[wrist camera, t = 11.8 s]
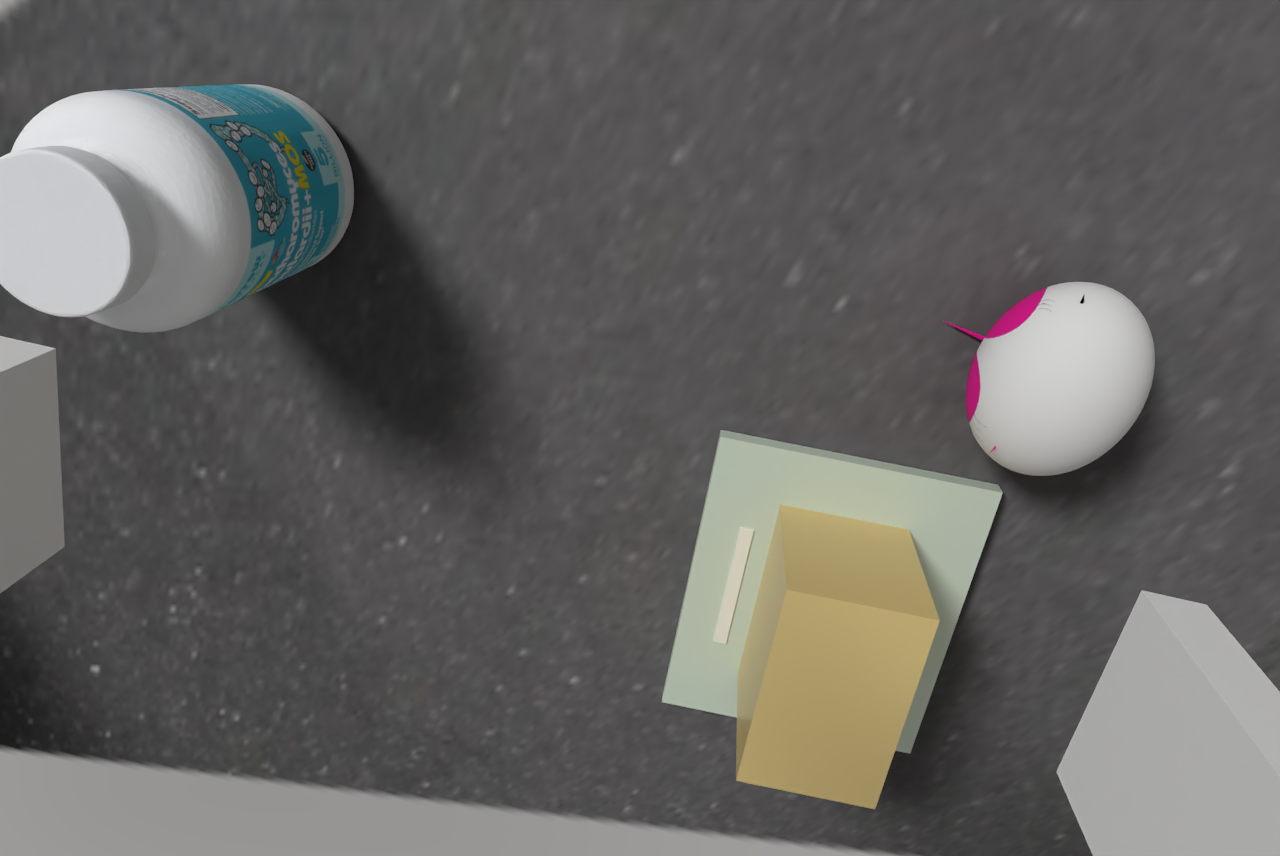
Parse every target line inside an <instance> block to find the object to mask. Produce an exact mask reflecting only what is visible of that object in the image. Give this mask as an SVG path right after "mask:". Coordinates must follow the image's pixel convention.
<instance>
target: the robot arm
mask: <svg viewBox="0 0 1280 856" xmlns="http://www.w3.org/2000/svg"><path fill="white" fill-rule="evenodd" d="M63 547H65V545H64V523H63V501H62V479H61V457H60V435H59V413H58V391H57V369H56V348H51V347H47V346H42V345H38V344H33V343H29V342H24V341H20V340H15V339H11V338H6V337H2V336H0V593H2V592H3V591H4V590H6V589H7V588H8V587H10V586H11V585H12V584H14V583H15V582H17V581H18V580H19V579H21V578H22V577H23V576H25V575H26V574H28V573H29V572H30V571H32V570H33V569H34V568H36V567H37V566H39V565H40V564H41V563H43V562H44V561H45V560H47V559H48V558H49V557H51V556H52V555H54V554H55V553H56V552H58V551H59V550H60V549H62V548H63ZM1056 772H1057V774H1058V777H1059V779H1060V781H1061V784H1062V786H1063V788H1064V790H1065V793H1066V795H1067V797H1068V800H1069V802H1070V804H1071V806H1072V809H1073V811H1074V813H1075V816H1076V818H1077V820H1078V823H1079V825H1080V827H1081V829H1082V832H1083V834H1084V836H1085V839H1086V841H1087V843H1088V846H1089V848H1090V850H1091V852H1092V855H1093V856H1280V692H1279V691H1278V689H1277V688H1276V687H1275V686H1274V685H1273V683H1272V682H1271V681H1270V680H1269V679H1268V677H1267V676H1266V675H1265V674H1264V673H1263V671H1262V670H1261V669H1260V668H1259V667H1258V666H1257V664H1256V663H1255V662H1254V661H1253V660H1252V658H1251V657H1250V656H1249V655H1248V654H1247V652H1246V651H1245V650H1244V649H1243V648H1242V646H1241V645H1240V644H1239V643H1238V642H1237V640H1236V639H1235V638H1234V637H1233V636H1232V635H1231V633H1230V632H1229V631H1228V630H1227V629H1226V627H1225V626H1224V625H1223V624H1222V623H1221V621H1220V620H1219V619H1218V618H1217V617H1216V615H1215V614H1214V613H1213V612H1212V611H1211V609H1210V608H1209V607H1208V606H1207V605H1205V604H1201V603H1196V602H1192V601H1187V600H1183V599H1178V598H1174V597H1169V596H1165V595H1160V594H1156V593H1151V592H1147V591H1141V593H1140V595H1139V597H1138V599H1137V601H1136V603H1135V606H1134V608H1133V610H1132V612H1131V614H1130V616H1129V618H1128V620H1127V623H1126V625H1125V627H1124V629H1123V631H1122V633H1121V635H1120V637H1119V640H1118V642H1117V644H1116V646H1115V648H1114V650H1113V652H1112V654H1111V657H1110V659H1109V661H1108V663H1107V665H1106V667H1105V669H1104V671H1103V674H1102V676H1101V678H1100V680H1099V682H1098V684H1097V686H1096V688H1095V691H1094V693H1093V695H1092V697H1091V699H1090V701H1089V703H1088V706H1087V708H1086V710H1085V712H1084V714H1083V716H1082V718H1081V720H1080V723H1079V725H1078V727H1077V729H1076V731H1075V733H1074V735H1073V737H1072V740H1071V742H1070V744H1069V746H1068V748H1067V750H1066V752H1065V754H1064V757H1063V759H1062V761H1061V763H1060V765H1059V767H1058V769H1057V771H1056Z"/></svg>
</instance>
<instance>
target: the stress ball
mask: <svg viewBox="0 0 1280 856" xmlns="http://www.w3.org/2000/svg"><path fill="white" fill-rule="evenodd" d="M942 321H943V320H942ZM944 322H946V321H944ZM946 323H948V322H946ZM948 324H950V325H952V326H954V327H956V328H958V329H960V330H962V331H964V332H966V333H968V334H970V335H971V336H973V337H975V338H977V339H979V340H981V341H982V343H981V344H980V346H979V348H978V350H977V352H976V354H975V357H974V359H973V362H972V364H971V368H970V371H969V375H968V380H967V387H966V411H967V417H968V421H969V424H970V427H971V430H972V432H973V434H974V437H975V439H976V440H977V442H978V444H979V445H980V446H981V448H982V449H983V450H984V451H985V453H987V454H988V455H989V456H990V457H991V458H992V459H993V460H994V461H996V462H997V463H999V464H1000V465H1001V466H1003V467H1005V468H1007V469H1009V470H1012V471H1015V472H1018V473H1021V474H1026V475H1033V476H1049V475H1057V474H1062V473H1066V472H1070V471H1073V470H1076V469H1078V468H1081V467H1083V466H1085V465H1087V464H1089V463H1091V462H1093V461H1094V460H1096V459H1097V458H1099V457H1100V456H1102V455H1103V454H1104V453H1106V452H1107V451H1109V450H1110V449H1111V448H1112V447H1113V446H1114V445H1115V444H1116V443H1118V442H1119V441H1120V440H1121V438H1122V437H1123V436H1124V435H1125V434H1126V433H1127V432H1128V430H1129V429H1130V428H1131V426H1132V425H1133V424H1134V422H1135V421H1136V419H1137V418H1138V416H1139V414H1140V412H1141V411H1142V409H1143V407H1144V404H1145V402H1146V400H1147V398H1148V395H1149V392H1150V389H1151V385H1152V380H1153V376H1154V368H1155V351H1154V343H1153V338H1152V335H1151V331H1150V329H1149V326H1148V324H1147V322H1146V320H1145V318H1144V316H1143V315H1142V314H1141V312H1140V311H1139V309H1138V308H1137V307H1136V306H1135V305H1134V304H1133V303H1132V302H1131V301H1130V300H1129V299H1128V298H1126V297H1125V296H1124V295H1123V294H1121V293H1119V292H1118V291H1116V290H1114V289H1112V288H1109V287H1107V286H1104V285H1101V284H1096V283H1090V282H1068V283H1061V284H1057V285H1053V286H1050V287H1047V288H1044V289H1042V290H1039V291H1037V292H1035V293H1033V294H1031V295H1029V296H1027V297H1026V298H1024V299H1023V300H1021V301H1020V302H1018V303H1017V304H1015V305H1014V306H1013V307H1011V308H1010V309H1009V310H1008V311H1007V312H1006V313H1005V314H1004V315H1003V316H1002V317H1001V318H1000V319H999V320H998V321H997V322H996V323H995V324H994V325H993V327H992V328H991V329H990V331H989V332H988V333H987V335H986V336H985V337H984V336H982V335H979V334H977V333H974V332H971V331H969V330H966V329H964V328H961V327H958V326H956V325H953V324H951V323H948Z"/></svg>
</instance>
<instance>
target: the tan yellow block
mask: <svg viewBox="0 0 1280 856" xmlns="http://www.w3.org/2000/svg"><path fill="white" fill-rule="evenodd" d="M939 621H940V620H939V617H938V614H937V611H936V608H935V605H934V602H933V599H932V596H931V593H930V590H929V587H928V584H927V581H926V578H925V575H924V572H923V570H922V567H921V564H920V561H919V558H918V555H917V552H916V549H915V546H914V543H913V540H912V537H911V534H910V531H909V530H908V529H903V528H898V527H893V526H887V525H882V524H877V523H872V522H867V521H862V520H857V519H852V518H847V517H842V516H837V515H832V514H827V513H822V512H817V511H811V510H806V509H801V508H796V507H791V506H786V505H781V504H780V507H779V511H778V515H777V519H776V523H775V527H774V531H773V535H772V539H771V543H770V547H769V551H768V555H767V559H766V563H765V567H764V571H763V575H762V579H761V583H760V587H759V591H758V595H757V599H756V603H755V607H754V611H753V614H752V618H751V622H750V626H749V630H748V634H747V638H746V642H745V646H744V650H743V654H742V658H741V662H740V666H739V670H738V680H737V750H736V781H741V782H746V783H750V784H755V785H760V786H765V787H770V788H774V789H779V790H784V791H789V792H794V793H799V794H803V795H808V796H813V797H818V798H823V799H827V800H832V801H837V802H842V803H847V804H851V805H856V806H861V807H866V808H871V809H875V808H876V805H877V802H878V799H879V796H880V793H881V791H882V788H883V785H884V782H885V779H886V776H887V773H888V770H889V767H890V764H891V761H892V759H893V756H894V753H895V750H896V747H897V744H898V741H899V738H900V735H901V732H902V729H903V726H904V724H905V721H906V718H907V715H908V712H909V709H910V706H911V703H912V700H913V697H914V694H915V691H916V689H917V686H918V683H919V680H920V677H921V674H922V671H923V668H924V665H925V662H926V659H927V656H928V654H929V651H930V648H931V645H932V642H933V639H934V636H935V633H936V630H937V627H938V624H939Z"/></svg>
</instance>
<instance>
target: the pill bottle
mask: <svg viewBox="0 0 1280 856" xmlns="http://www.w3.org/2000/svg"><path fill="white" fill-rule="evenodd" d="M353 205H354V183H353V176H352V170H351V166H350V163H349V160H348V157H347V154H346V152H345V150H344V147H343V145H342V143H341V142H340V140H339V138H338V137H337V135H336V133H335V132H334V130H333V129H332V128H331V126H330V125H329V124H328V123H327V122H326V120H325V119H324V118H323V117H322V116H321V115H320V114H319V113H318V112H316V111H315V110H314V109H313V108H312V107H310V106H309V105H308V104H306V103H305V102H303V101H302V100H300V99H299V98H297V97H295V96H293V95H291V94H289V93H287V92H284V91H282V90H279V89H275V88H272V87H268V86H263V85H252V84H244V85H212V86H190V87H170V88H148V89H123V90H108V91H95V92H86V93H81V94H77V95H73V96H70V97H67V98H65V99H62V100H60V101H57V102H55V103H54V104H52V105H50V106H48V107H47V108H45V109H44V110H42V111H41V112H40V113H39V114H37V115H36V116H35V117H34V118H33V119H32V120H31V121H30V122H29V123H28V124H27V125H26V126H25V128H24V129H23V130H22V132H21V133H20V135H19V136H18V138H17V140H16V142H15V144H14V146H13V148H12V151H11V153H9V154H7V155H4V156H2V157H0V284H1V285H2V286H3V287H4V288H5V289H6V290H7V291H8V292H10V293H11V294H12V295H13V296H14V297H16V298H17V299H18V300H20V301H22V302H23V303H25V304H27V305H28V306H30V307H32V308H34V309H36V310H39V311H42V312H45V313H47V314H51V315H55V316H61V317H82V316H85V317H87V318H89V319H91V320H93V321H95V322H98V323H101V324H104V325H107V326H110V327H113V328H116V329H121V330H126V331H133V332H160V331H167V330H171V329H176V328H179V327H182V326H185V325H188V324H190V323H192V322H195V321H197V320H199V319H202V318H204V317H206V316H208V315H210V314H212V313H215V312H217V311H219V310H221V309H223V308H225V307H227V306H229V305H231V304H233V303H235V302H237V301H240V300H242V299H244V298H246V297H248V296H250V295H252V294H254V293H256V292H259V291H261V290H263V289H265V288H267V287H269V286H271V285H273V284H275V283H277V282H279V281H281V280H283V279H286V278H288V277H290V276H292V275H294V274H296V273H298V272H300V271H302V270H304V269H306V268H308V267H310V266H312V265H314V264H316V263H318V262H319V261H321V260H322V259H323V258H325V257H326V256H327V255H328V254H329V253H330V252H331V251H332V250H333V249H334V248H335V247H336V246H337V244H338V243H339V242H340V240H341V239H342V237H343V235H344V233H345V231H346V229H347V227H348V225H349V222H350V219H351V215H352V210H353Z"/></svg>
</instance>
